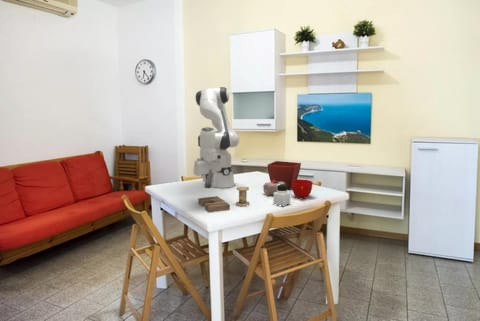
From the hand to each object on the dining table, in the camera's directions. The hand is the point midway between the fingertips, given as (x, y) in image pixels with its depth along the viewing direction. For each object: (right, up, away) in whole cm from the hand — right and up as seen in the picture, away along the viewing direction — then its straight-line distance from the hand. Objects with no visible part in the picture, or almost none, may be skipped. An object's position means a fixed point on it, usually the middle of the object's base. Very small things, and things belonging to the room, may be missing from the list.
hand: (207, 181), depth 207 cm
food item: (+40, -11, +30) cm, 52 cm away
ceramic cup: (+57, -12, +23) cm, 62 cm away
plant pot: (+49, -7, +52) cm, 72 cm away
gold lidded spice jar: (0, -4, 0) cm, 4 cm away
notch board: (+3, -15, +4) cm, 15 cm away
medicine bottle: (+43, -14, +8) cm, 46 cm away
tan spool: (+20, -14, +8) cm, 25 cm away
